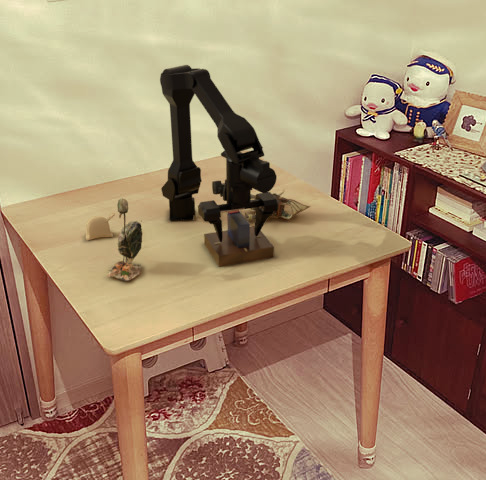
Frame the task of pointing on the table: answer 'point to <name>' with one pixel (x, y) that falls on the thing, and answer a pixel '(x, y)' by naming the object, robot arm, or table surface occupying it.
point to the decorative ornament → (98, 227)
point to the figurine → (282, 207)
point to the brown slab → (232, 254)
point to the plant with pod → (127, 246)
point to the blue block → (238, 229)
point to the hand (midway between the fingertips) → (238, 238)
